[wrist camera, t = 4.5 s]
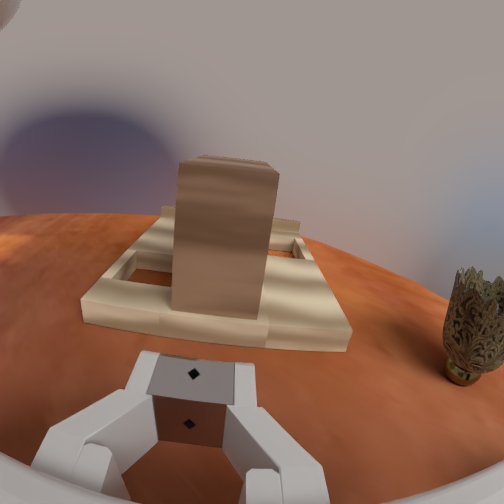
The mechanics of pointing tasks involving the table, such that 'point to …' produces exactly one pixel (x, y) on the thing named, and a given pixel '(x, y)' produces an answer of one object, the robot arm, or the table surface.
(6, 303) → the table surface
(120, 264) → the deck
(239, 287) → the block
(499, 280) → the cup
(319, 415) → the table surface
